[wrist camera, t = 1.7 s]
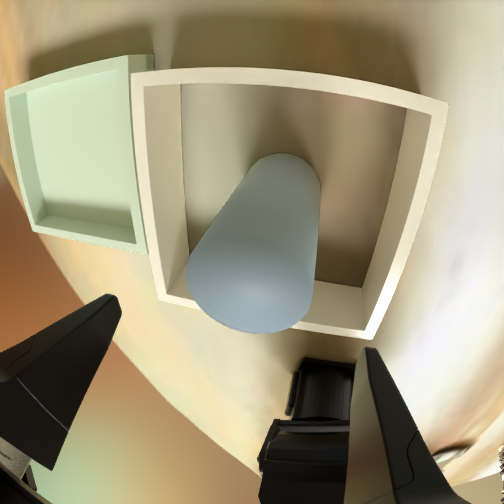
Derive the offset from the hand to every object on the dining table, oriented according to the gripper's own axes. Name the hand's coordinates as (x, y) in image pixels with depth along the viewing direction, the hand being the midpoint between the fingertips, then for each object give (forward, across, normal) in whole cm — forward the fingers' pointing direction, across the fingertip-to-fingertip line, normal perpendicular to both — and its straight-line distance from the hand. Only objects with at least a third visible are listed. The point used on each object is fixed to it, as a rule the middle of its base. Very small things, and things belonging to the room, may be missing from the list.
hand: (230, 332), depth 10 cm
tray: (+12, +16, -2) cm, 20 cm away
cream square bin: (+12, 0, 0) cm, 12 cm away
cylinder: (+12, 0, 0) cm, 12 cm away
